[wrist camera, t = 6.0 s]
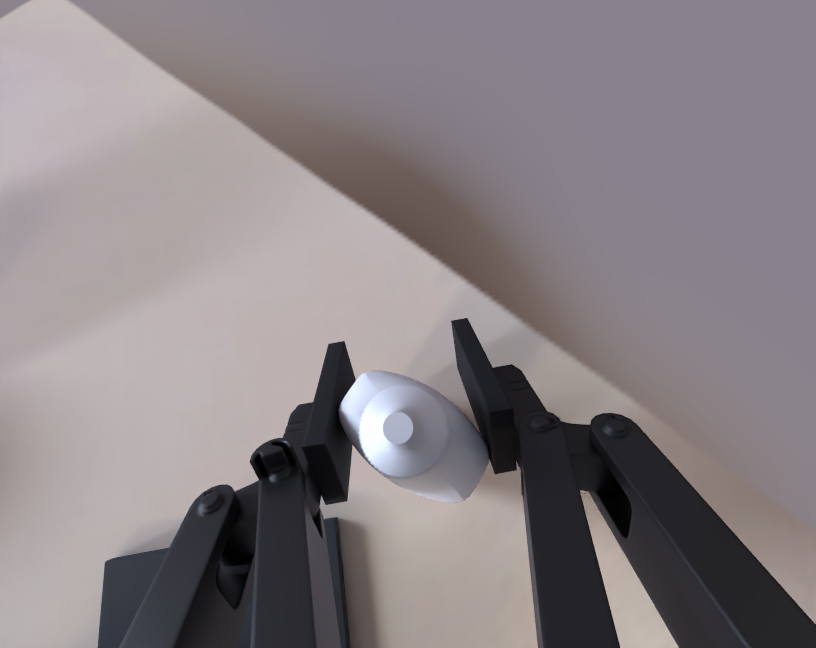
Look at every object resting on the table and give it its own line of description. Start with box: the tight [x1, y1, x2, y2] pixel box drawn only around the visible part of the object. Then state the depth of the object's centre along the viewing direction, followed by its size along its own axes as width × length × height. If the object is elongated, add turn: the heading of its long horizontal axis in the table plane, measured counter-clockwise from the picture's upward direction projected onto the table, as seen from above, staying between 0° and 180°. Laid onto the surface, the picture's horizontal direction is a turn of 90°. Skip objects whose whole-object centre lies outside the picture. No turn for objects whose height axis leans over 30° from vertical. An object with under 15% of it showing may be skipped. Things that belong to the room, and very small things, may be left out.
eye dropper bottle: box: [338, 370, 490, 503], centre depth 14 cm, size 4×6×12 cm
